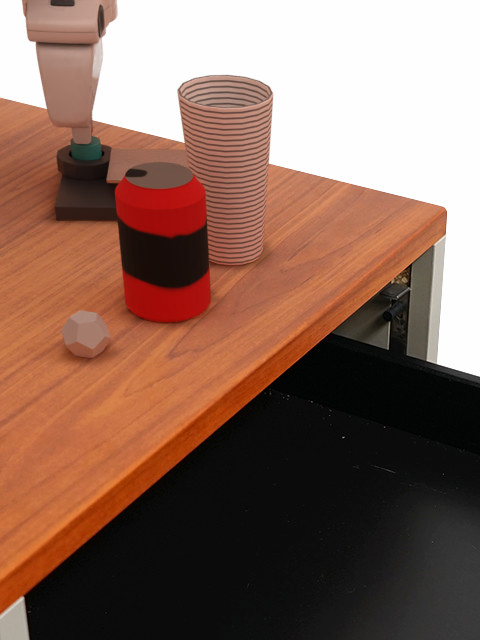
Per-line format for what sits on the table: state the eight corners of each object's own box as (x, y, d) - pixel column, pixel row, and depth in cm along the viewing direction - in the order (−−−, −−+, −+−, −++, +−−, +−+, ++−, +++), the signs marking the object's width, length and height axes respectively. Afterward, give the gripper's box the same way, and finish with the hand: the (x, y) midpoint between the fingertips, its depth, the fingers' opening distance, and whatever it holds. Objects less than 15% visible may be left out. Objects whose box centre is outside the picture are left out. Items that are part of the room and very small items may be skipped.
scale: (51, 220, 137) (47, 191, 135) (62, 169, 146) (59, 141, 144) (200, 221, 139) (199, 192, 137) (202, 171, 148) (200, 144, 146)
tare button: (70, 162, 141) (68, 145, 140) (73, 151, 144) (71, 134, 142) (100, 163, 142) (99, 146, 141) (103, 151, 144) (101, 135, 143)
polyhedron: (101, 365, 116) (97, 331, 114) (57, 359, 116) (52, 324, 114) (118, 343, 119) (114, 309, 117) (75, 337, 119) (71, 303, 117)
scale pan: (106, 183, 137) (106, 179, 137) (111, 151, 143) (111, 148, 143) (189, 184, 138) (188, 180, 138) (190, 153, 144) (190, 149, 144)
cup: (174, 240, 135) (164, 79, 125) (257, 228, 138) (253, 70, 128) (203, 278, 129) (195, 112, 119) (289, 264, 133) (287, 102, 123)
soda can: (134, 281, 128) (123, 154, 120) (217, 287, 128) (211, 161, 120) (117, 320, 122) (104, 190, 114) (204, 326, 122) (196, 196, 115)
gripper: (46, -36, 140) (61, 101, 149) (23, 29, 124) (41, 177, 133) (110, -33, 141) (121, 102, 150) (95, 31, 125) (109, 178, 134)
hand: (83, 138), depth 141 cm, fingers closed
